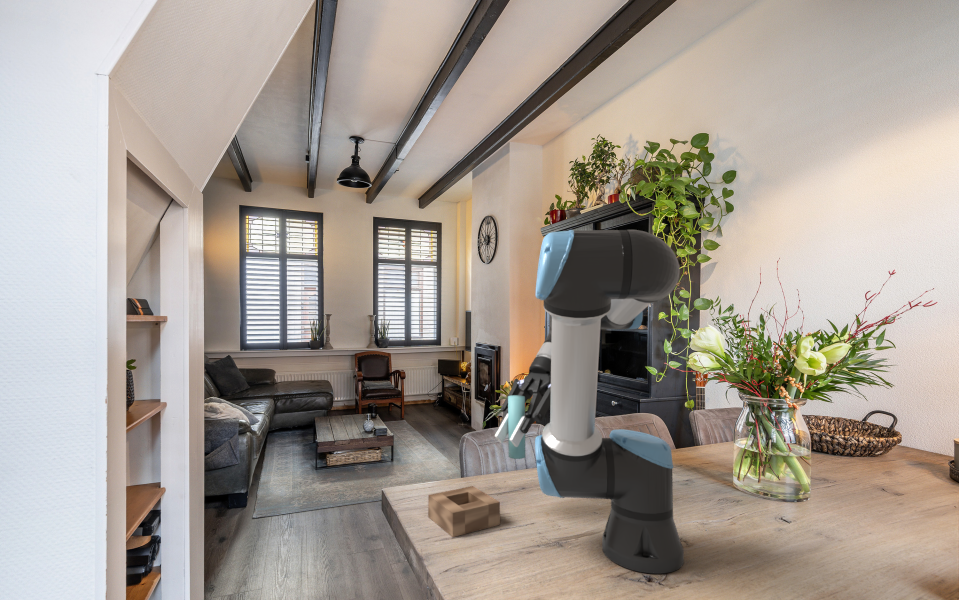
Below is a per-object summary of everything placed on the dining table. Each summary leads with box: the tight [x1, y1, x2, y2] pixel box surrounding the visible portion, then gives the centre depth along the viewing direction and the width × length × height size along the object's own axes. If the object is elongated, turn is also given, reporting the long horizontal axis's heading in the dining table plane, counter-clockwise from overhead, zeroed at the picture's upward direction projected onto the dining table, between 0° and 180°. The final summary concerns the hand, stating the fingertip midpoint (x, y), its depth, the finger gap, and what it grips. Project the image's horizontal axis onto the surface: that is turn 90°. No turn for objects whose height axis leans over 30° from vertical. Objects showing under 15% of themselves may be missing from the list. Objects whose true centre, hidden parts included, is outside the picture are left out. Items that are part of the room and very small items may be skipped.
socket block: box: [427, 485, 501, 538], centre depth 105 cm, size 12×12×5 cm
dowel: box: [507, 395, 526, 460], centre depth 109 cm, size 4×4×14 cm
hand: (505, 441), depth 106 cm, fingers closed on dowel, 4 cm apart
